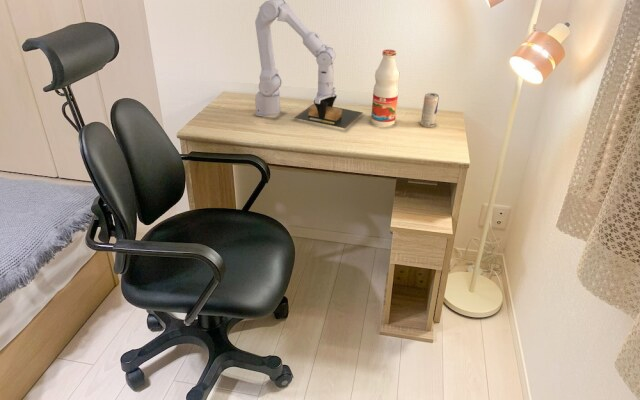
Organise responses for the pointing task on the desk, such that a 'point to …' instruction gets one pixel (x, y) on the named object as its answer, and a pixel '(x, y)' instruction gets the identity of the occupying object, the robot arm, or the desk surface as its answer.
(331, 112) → the eraser
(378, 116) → the strawberry milk bottle
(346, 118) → the slate board
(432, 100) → the energy drink
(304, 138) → the desk surface
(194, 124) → the desk surface
